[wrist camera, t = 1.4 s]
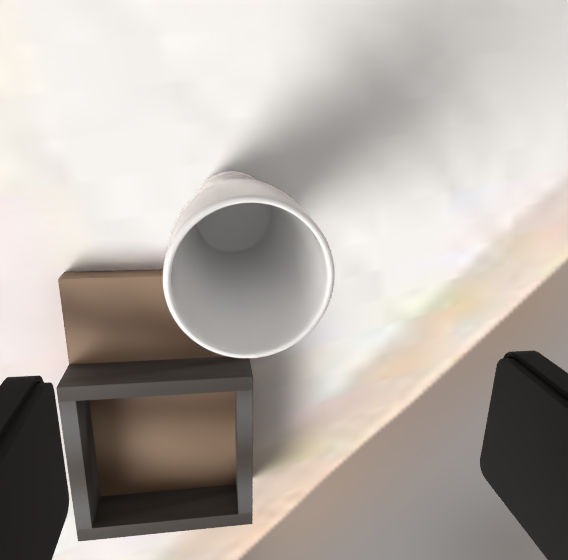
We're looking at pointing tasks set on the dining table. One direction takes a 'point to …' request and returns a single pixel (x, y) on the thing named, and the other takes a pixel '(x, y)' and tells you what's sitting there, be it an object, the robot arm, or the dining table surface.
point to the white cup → (246, 268)
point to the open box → (149, 414)
